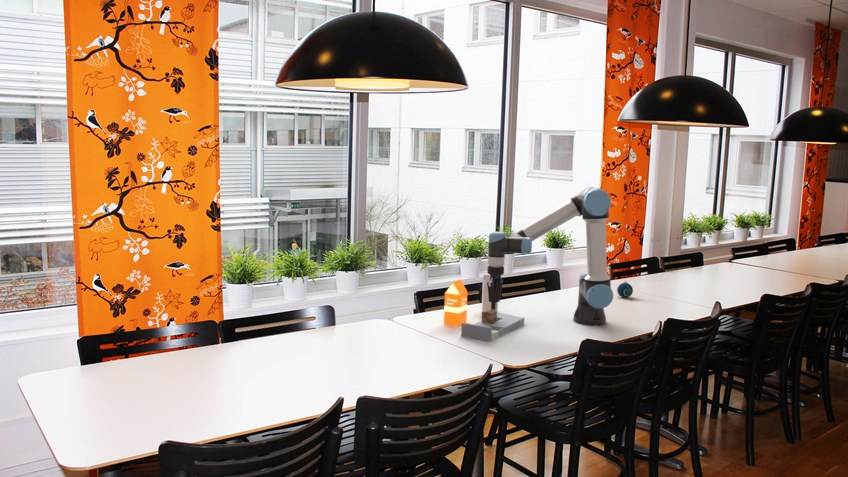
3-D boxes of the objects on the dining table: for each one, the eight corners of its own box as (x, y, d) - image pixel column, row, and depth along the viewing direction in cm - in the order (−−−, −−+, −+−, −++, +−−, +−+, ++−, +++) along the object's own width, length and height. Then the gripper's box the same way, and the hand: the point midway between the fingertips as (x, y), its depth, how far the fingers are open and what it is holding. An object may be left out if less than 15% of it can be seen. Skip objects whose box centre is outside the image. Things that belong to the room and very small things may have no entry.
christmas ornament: (616, 298, 370) (617, 280, 368) (616, 295, 378) (618, 278, 376) (632, 299, 367) (633, 282, 366) (632, 296, 375) (633, 279, 374)
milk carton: (496, 314, 328) (498, 276, 325) (482, 313, 328) (483, 276, 325) (495, 310, 335) (497, 273, 332) (481, 310, 335) (483, 273, 332)
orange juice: (443, 323, 307) (444, 281, 305) (451, 319, 315) (453, 278, 313) (458, 326, 304) (460, 283, 301) (466, 321, 312) (468, 280, 309)
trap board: (523, 323, 311) (524, 311, 310) (490, 342, 280) (490, 328, 279) (496, 319, 318) (497, 307, 317) (461, 336, 287) (461, 322, 286)
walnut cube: (496, 321, 302) (496, 311, 301) (491, 324, 297) (492, 313, 297) (486, 320, 304) (486, 309, 304) (481, 322, 300) (482, 311, 299)
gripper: (494, 262, 311) (492, 311, 314) (482, 266, 300) (480, 317, 303) (509, 264, 307) (507, 314, 310) (497, 268, 296) (495, 320, 299)
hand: (493, 315), depth 306 cm, fingers closed
